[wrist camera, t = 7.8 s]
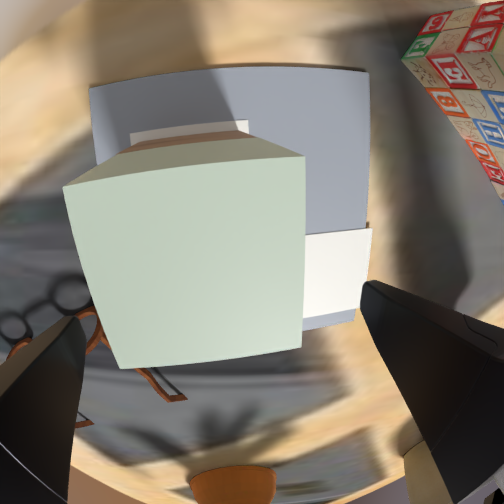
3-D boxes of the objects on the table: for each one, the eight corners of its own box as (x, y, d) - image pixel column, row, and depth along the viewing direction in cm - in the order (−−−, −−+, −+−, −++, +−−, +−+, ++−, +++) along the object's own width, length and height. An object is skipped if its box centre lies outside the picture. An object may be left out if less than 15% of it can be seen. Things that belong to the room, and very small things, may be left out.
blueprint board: (358, 317, 26) (360, 319, 26) (144, 348, 24) (143, 351, 24) (374, 74, 18) (376, 73, 18) (90, 89, 15) (88, 88, 15)
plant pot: (444, 442, 50) (474, 491, 36) (386, 474, 50) (412, 528, 36) (455, 413, 43) (494, 472, 29) (387, 453, 43) (421, 520, 29)
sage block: (264, 264, 15) (301, 347, 10) (141, 279, 14) (119, 368, 9) (258, 137, 13) (305, 156, 7) (117, 154, 12) (62, 186, 7)
